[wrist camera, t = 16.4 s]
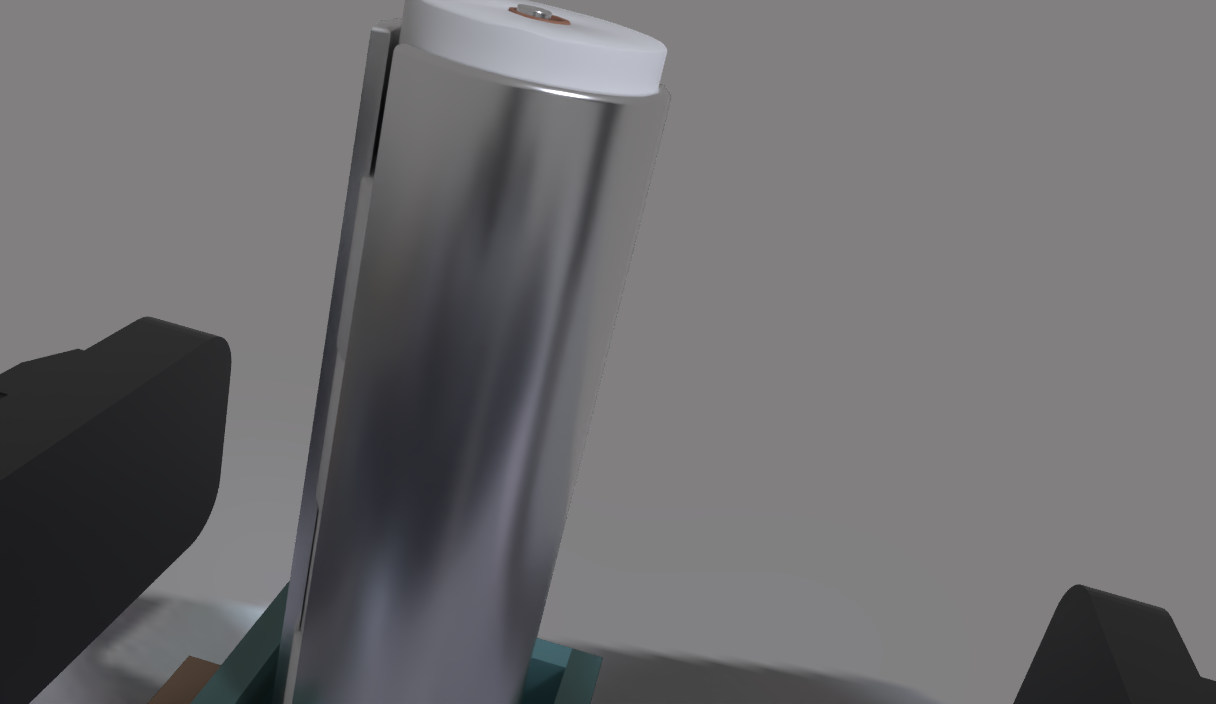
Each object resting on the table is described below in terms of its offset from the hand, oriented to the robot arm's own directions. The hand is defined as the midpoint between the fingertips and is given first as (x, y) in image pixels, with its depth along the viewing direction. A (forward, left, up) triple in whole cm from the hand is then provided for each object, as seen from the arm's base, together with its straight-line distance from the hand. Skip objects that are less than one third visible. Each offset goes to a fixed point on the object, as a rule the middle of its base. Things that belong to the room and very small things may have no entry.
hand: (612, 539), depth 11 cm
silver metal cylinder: (+5, -15, -22) cm, 27 cm away
